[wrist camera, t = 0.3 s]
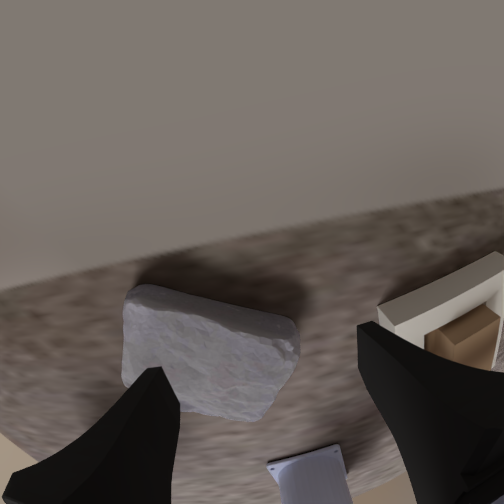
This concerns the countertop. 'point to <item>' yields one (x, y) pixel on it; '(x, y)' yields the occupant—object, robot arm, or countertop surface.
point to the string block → (467, 338)
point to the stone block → (209, 350)
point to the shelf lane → (447, 300)
